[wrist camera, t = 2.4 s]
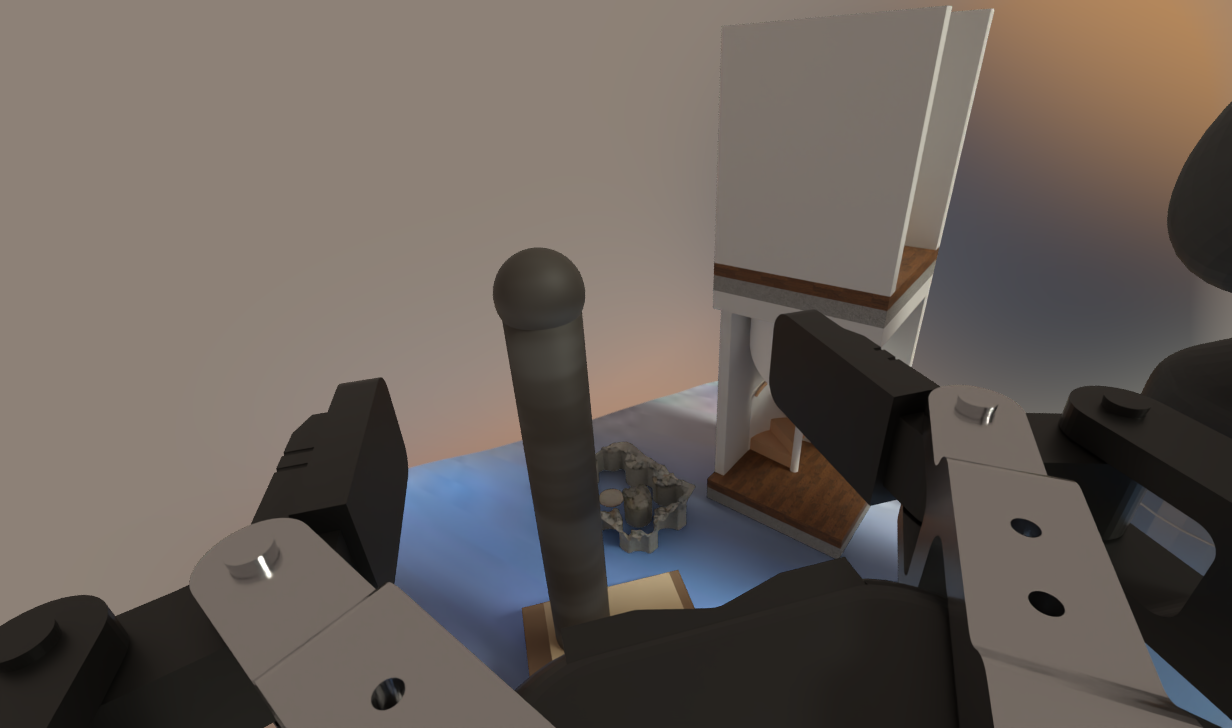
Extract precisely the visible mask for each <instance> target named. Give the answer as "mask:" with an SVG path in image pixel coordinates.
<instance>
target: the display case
mask: <svg viewBox="0 0 1232 728" xmlns="http://www.w3.org/2000/svg"><path fill="white" fill-rule="evenodd" d="M951 9H952V6H938V7H928V8H917V9H906V10H894V11H883V12H872V13H862V14H850V15H840V16H827V17H817V18H805V19H794V20H783V21H772V22H761V23H750V24H739V25H728V26H722V35H721V66H720V67H721V68H720V97H719V98H720V99H719V129H718V162H717V193H716V225H715V256H714V258H715V259H714V288H713V308H714V309H718V310H721V324H720V349H719V350H720V351H719V376H718V400H717V426H716V451H715V472H714V473H713V474H712V475H711V476H710V477H709V478H708V479H707V497H708V498H710V499H712V500H714V501H716V502H718V503H720V504H722V505H724V506H727V507H729V508H731V509H733V510H735V511H737V512H739V513H741V514H743V515H745V516H747V517H749V518H752V519H754V520H756V521H758V522H760V523H762V524H764V525H766V526H768V527H770V528H772V529H774V530H777V531H779V532H781V533H783V534H785V535H787V536H789V537H791V538H793V539H795V540H797V541H799V542H801V543H804V544H806V545H808V546H810V547H812V548H814V549H816V550H818V551H820V552H822V553H824V554H826V555H829V556H831V557H833V558H835V559H838V558H840V556H841V555H842V553H843V551H844V550H845V548H846V546H847V545H848V543H849V541H850V540H851V538H852V536H853V535H854V533H855V531H856V530H857V528H858V526H859V525H860V523H861V521H862V520H863V518H864V516H865V515H866V513H867V511H868V510H869V508H870V506H869V505H868V503H867V502H866V501H865V500H864V499H863V498H862V497H861V496H860V495H859V494H858V493H857V492H856V491H855V489H854V488H853V487H852V486H851V485H850V484H849V483H848V482H847V481H846V480H845V479H844V478H843V477H842V476H841V474H840V473H839V472H838V471H837V470H836V469H835V468H834V467H833V466H832V465H831V464H830V463H829V462H828V460H827V459H826V458H825V457H824V456H823V455H822V454H821V453H820V452H819V451H818V450H817V449H816V448H815V446H814V445H813V444H812V443H811V442H810V441H809V440H808V439H807V438H806V437H805V436H804V435H803V434H802V432H801V431H800V430H799V429H798V428H797V427H796V426H795V425H794V424H793V423H792V422H791V421H790V420H789V419H788V417H787V416H786V415H785V414H784V413H783V412H782V411H781V410H780V409H779V408H778V407H777V405H776V404H775V402H774V400H773V398H772V395H771V392H770V386H769V373H770V362H771V351H772V340H773V329H774V323H775V320H776V318H777V317H778V316H779V315H780V314H785V313H792V312H798V311H804V310H810V309H815V310H817V311H819V312H820V313H822V314H823V315H825V316H826V317H828V318H829V319H831V320H832V321H834V322H835V323H836V324H838V325H839V326H841V327H842V328H844V329H847V330H850V331H853V332H855V333H858V334H861V335H864V336H865V337H867V338H868V339H870V340H871V341H873V342H874V343H876V344H877V345H879V346H880V347H881V349H882V350H884V349H885V350H886V351H888V352H889V353H891V354H892V355H894V356H895V358H896V360H897V359H900V360H901V361H903V362H904V363H906V364H907V365H909V366H910V367H912V362H913V358H914V354H915V349H916V345H917V341H918V336H919V332H920V328H921V323H922V319H923V315H924V311H925V306H926V302H927V298H928V293H929V289H930V285H931V280H932V276H933V272H934V267H935V263H936V259H937V255H938V250H939V246H940V241H941V237H942V233H943V229H944V224H945V220H946V216H947V211H948V207H949V203H950V198H951V194H952V190H953V186H954V181H955V177H956V172H957V168H958V164H959V159H960V155H961V151H962V147H963V143H964V138H965V133H966V129H967V125H968V121H969V117H970V112H971V108H972V104H973V99H974V94H975V91H976V87H977V82H978V78H979V73H980V69H981V65H982V61H983V56H984V52H985V48H986V43H987V39H988V35H989V30H990V26H991V22H992V18H993V13H994V9H982V10H970V11H958V12H951Z"/></svg>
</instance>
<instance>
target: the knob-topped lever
mask: <svg viewBox="0 0 1232 728" xmlns="http://www.w3.org/2000/svg"><path fill="white" fill-rule="evenodd" d="M493 300H494V304H495V308H496V310H497V313H498V315H499V316H500V318H501V319H502V322H503V328H504V334H505V339H506V346H507V351H508V357H509V363H510V369H511V375H512V381H513V386H514V393H515V399H516V405H517V410H518V416H519V422H520V428H521V434H522V440H523V446H524V452H525V458H526V463H527V469H528V475H529V481H530V487H531V493H532V499H533V505H534V511H535V517H536V522H537V528H538V534H539V540H540V546H541V552H542V558H543V564H544V570H545V576H546V581H547V587H548V593H549V599H550V601H548V602H544V610H545V616H546V623H547V629H548V636H549V642H550V649H551V655H552V660H554V659H556V658H558V657H560V656H562V655H563V654H564V648H563V642H562V635H561V628H565V627H569V626H573V625H577V624H581V623H585V622H589V621H593V620H597V619H601V618H605V617H609V616H613V615H617V614H621V613H625V612H629V611H632V610H646V609H684V608H683V605H682V603H681V600H680V598H679V596H678V593H677V591H676V588H675V586H674V583H673V581H672V579H671V576H670V574H669V572H667V573H663V574H659V575H655V576H651V577H647V578H642V579H638V580H634V581H630V582H626V583H622V584H618V585H614V586H610V587H607V577H606V566H605V555H604V545H603V534H602V523H601V512H600V501H599V491H598V480H597V469H596V458H595V447H594V437H593V426H592V415H591V404H590V394H589V383H588V372H587V362H586V350H585V340H584V329H583V319H582V309H583V306H584V302H585V287H584V283H583V280H582V277H581V274H580V272H579V271H578V269H577V268H576V266H575V265H574V264H573V263H572V261H570V260H569V259H568V258H567V257H566V256H564V255H563V254H561V253H559V252H557V251H554V250H551V249H547V248H530V249H525V250H522V251H520V252H518V253H516V254H514V255H513V256H511V257H510V258H509V259H508V260H507V261H506V262H505V263H504V264H503V265H502V266H501V268H500V269H499V271H498V273H497V275H496V278H495V281H494V286H493Z"/></svg>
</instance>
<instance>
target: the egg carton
mask: <svg viewBox="0 0 1232 728" xmlns="http://www.w3.org/2000/svg"><path fill="white" fill-rule="evenodd" d="M595 458H596V469H597V480H598V482H599V472H601V471H603V470H607V471H618V470H620V469H623V470H625V474H626V482H627V484H628V485H629V486H631V487H630V488H628V489H627V488H624V489H623V492H621V491H620V490H617V489H607V490H605V491H603V492H602V493H600V496H599V501H600V503H601V505H604V506H606V507H616V506H618V505H620V504H621V503H622V502H623V500H624V510H625V520H626V522H627V523H628V524H629V525H630V526H632V527H637V528H641V527H644V526H647V525H649V524H650V522H651V521H652V497H651V493H650V491H649V489H648V488H647V486H650V487H651V488H653V500H654V502H655V503H657V504H658V505H660V506H663V507H659V508H657V509H655V510H654V514H655V516H653V518H654V522H653V524H654V531H653V532H652V533H650V534H646V533H645V532H643V531H642V530H636V531H635V530H631V534H630V535H627V534H626V533H625V532H623V520H622V517H621V515H620V512H619V509H617V508H614V509H613V510H612V511H610V512H606V511H601V523H602V530H605V529H615V530H617V531H618V532H619V535H620V547H621V548H622V549H623V550H624V551H625V552H627V553H632V552H634V551H644V552H646V553H652V552H653V551H654V550H655V549H657V548H658V531H659V530H661V529H664V528H672V529H675V530H680V529H681V528H683V527H684V526H685V525H686V507H687V506H686V502H687V500H688V498H689V497H690V495H691V494H692V492H693V490H694V488H695V485H692V484H690V483H687V482H685V481H684V480H679V479H677V478H676V477H675V476H674V474H673V473H669V472H668V470H667V469H666V467H665V466H664V465H661V464H658V463H656V462H655V461H654V460H652V459H651V458H649V457H647V456H645V455H644V454H643V453H642V452H641V451H639V450H638V449H637V448H636V447H635V446H634V445H633V444H630V443H628V442H617V443H613V444H611V445H609V446H607V447H602V449H601V450H600V451H599V452H598V453H596V454H595Z"/></svg>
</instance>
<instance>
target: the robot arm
mask: <svg viewBox="0 0 1232 728" xmlns="http://www.w3.org/2000/svg"><path fill="white" fill-rule="evenodd" d="M1167 225H1168V233H1169V238H1170V241H1171V243H1172V246H1173V248H1174V250H1175V253H1176V255H1177V256H1178V258H1179V259H1180V260H1181V261H1182V262H1183V263H1184V265H1185V266H1186V267H1187V268H1188V269H1189V270H1190V271H1191V272H1192V273H1194V274H1195V275H1196V276H1198V277H1199V278H1201V279H1202V280H1204V281H1205V282H1207V283H1208V284H1211V285H1213V286H1215V287H1217V288H1220V289H1222V290H1225V291H1228V292H1231V293H1232V102H1231V103H1230V104H1229V105H1228V106H1227V107H1226V108H1225V109H1224V110H1223V111H1222V113H1221V114H1220V115H1219V116H1218V117H1217V119H1216V120H1215V121H1214V122H1213V123H1212V125H1211V126H1210V127H1209V128H1208V129H1207V130H1206V132H1205V133H1204V135H1203V136H1202V138H1201V139H1200V140H1199V142H1198V143H1197V145H1196V146H1195V148H1194V149H1193V151H1192V152H1191V154H1190V155H1189V157H1188V159H1187V161H1186V162H1185V164H1184V166H1183V168H1182V171H1181V173H1180V175H1179V177H1178V179H1177V182H1176V184H1175V187H1174V189H1173V192H1172V195H1171V199H1170V203H1169V208H1168V217H1167ZM769 386H770V392H771V395H772V398H773V400H774V402H775V404H776V405H777V407H778V408H779V409H780V410H781V411H782V412H783V413H784V414H785V415H786V416H787V417H788V419H789V420H790V421H791V422H792V423H793V424H794V425H795V426H796V427H797V428H798V429H799V430H800V431H801V432H802V434H803V435H804V436H805V437H806V438H807V439H808V440H809V441H810V442H811V443H812V444H813V445H814V446H815V448H816V449H817V450H818V451H819V452H820V453H821V454H822V455H823V456H824V457H825V458H826V459H827V460H828V462H829V463H830V464H831V465H832V466H833V467H834V468H835V469H836V470H837V471H838V472H839V473H840V474H841V476H842V477H843V478H844V479H845V480H846V481H847V482H848V483H849V484H850V485H851V486H852V487H853V488H854V489H855V491H856V492H857V493H858V494H859V495H860V496H861V497H862V498H863V499H864V500H865V501H866V502H867V503H868V505H869V506H872V505H876V504H880V503H884V502H889V501H893V500H898V501H899V502H900V503H901V507H900V510H899V514H898V520H897V523H898V582H893V581H887V580H878V579H862V578H861V577H860V576H859V574H858V573H857V572H856V571H855V569H854V568H853V567H852V566H851V564H850V563H849V562H848V560H847V559H846V558H845V557H842V558H838V559H834V560H830V561H826V562H822V563H818V564H814V565H810V566H806V567H802V568H798V569H794V570H790V571H786V572H782V573H779V574H777V575H776V576H774V577H772V578H770V579H769V580H767V581H765V582H763V583H761V584H760V585H758V586H756V587H754V588H753V589H751V590H749V591H747V592H746V593H744V594H742V595H740V596H738V597H737V598H735V599H733V600H731V601H730V602H728V603H726V604H724V605H722V606H719V607H716V608H698V609H646V610H632V611H629V612H625V613H621V614H617V615H613V616H609V617H605V618H601V619H597V620H593V621H589V622H585V623H581V624H577V625H573V626H569V627H565V628H561V635H562V642H563V648H564V654H563V655H562V656H560V657H558V658H556V659H554V660H552V661H551V662H549V663H548V664H546V665H545V666H543V667H542V668H541V669H539V670H538V671H536V672H535V673H534V674H532V675H531V676H530V677H529V678H528V679H527V680H526V681H524V682H523V683H522V684H521V685H520V686H519V687H518V688H517V689H516V690H515V691H514V690H513V689H512V688H511V687H510V686H508V685H507V684H506V683H505V682H504V681H503V680H502V679H501V678H500V677H498V676H497V675H496V674H495V673H494V672H493V671H492V670H491V669H489V668H488V667H487V666H486V665H485V664H484V663H483V662H482V661H480V660H479V659H478V658H477V657H476V656H475V655H474V654H473V653H472V652H470V651H469V650H468V649H467V648H466V647H465V646H464V645H463V644H461V643H460V642H459V641H458V640H457V639H456V638H455V637H454V636H453V635H451V634H450V633H449V632H448V631H447V630H446V629H445V628H444V627H442V626H441V625H440V624H439V623H438V622H437V621H436V620H435V619H433V618H432V617H431V616H430V615H429V614H428V613H427V612H426V611H425V610H423V609H422V608H421V607H420V606H419V605H418V604H417V603H416V602H414V601H413V600H412V599H411V598H410V597H409V596H408V595H407V594H406V593H404V592H403V591H402V590H401V589H400V588H399V587H397V586H396V585H394V582H395V575H396V567H397V559H398V551H399V543H400V535H401V528H402V520H403V512H404V504H405V496H406V489H407V481H408V461H407V454H406V449H405V445H404V441H403V438H402V434H401V431H400V428H399V424H398V421H397V417H396V414H395V411H394V407H393V404H392V401H391V397H390V394H389V391H388V388H387V385H386V383H385V381H384V379H383V378H374V379H367V380H362V381H356V382H349V383H342V384H339V385H338V387H337V389H336V392H335V394H334V397H333V399H332V402H331V405H330V407H329V410H328V412H327V413H321V414H315V415H312V416H311V417H309V418H308V419H307V420H306V421H305V422H304V423H303V424H302V425H301V426H300V427H299V428H298V429H297V430H296V431H294V432H293V434H292V435H291V438H290V440H289V442H288V444H287V446H286V448H285V451H284V456H282V457H281V460H280V462H279V464H278V466H277V468H276V469H277V472H276V473H274V475H273V477H272V479H271V481H270V484H269V486H268V488H267V490H266V492H265V495H264V497H263V499H262V501H261V503H260V505H259V508H258V510H257V512H256V514H255V516H254V518H253V521H252V523H251V525H249V526H247V527H244V528H242V529H241V530H238V531H236V532H234V533H232V534H231V535H229V536H227V537H226V538H224V539H223V540H221V541H220V542H219V543H217V544H216V545H214V546H213V547H212V548H211V549H210V550H209V551H208V552H207V553H206V554H205V555H204V556H203V557H202V558H201V559H200V561H199V562H198V563H197V565H196V566H195V568H194V570H193V572H192V574H191V577H190V581H189V584H190V585H188V586H186V587H183V588H181V589H179V590H177V591H175V592H172V593H170V594H168V595H165V596H163V597H160V598H158V599H156V600H153V601H151V602H148V603H146V604H144V605H141V606H139V607H137V608H134V609H132V610H129V611H127V612H124V613H122V614H120V615H117V616H115V615H114V614H113V613H112V611H111V610H110V609H109V608H108V606H107V605H106V603H105V602H104V601H103V600H101V599H100V598H98V597H95V596H89V595H78V596H70V597H65V598H61V599H58V600H54V601H51V602H48V603H45V604H43V605H40V606H38V607H35V608H33V609H31V610H29V611H27V612H24V613H22V614H21V615H19V616H17V617H15V618H13V619H11V620H10V621H8V622H6V623H5V624H3V625H1V626H0V728H264V727H266V726H268V725H269V724H271V723H274V725H275V726H276V728H1232V338H1230V339H1224V340H1219V341H1215V342H1210V343H1205V344H1200V345H1196V346H1192V347H1189V348H1186V349H1183V350H1180V351H1178V352H1176V353H1174V354H1172V355H1170V356H1168V357H1167V358H1165V359H1164V360H1163V361H1162V362H1161V363H1159V364H1158V366H1157V367H1156V368H1155V369H1154V371H1153V372H1152V374H1151V375H1150V377H1149V379H1148V381H1147V383H1146V384H1145V387H1144V389H1143V391H1142V393H1141V394H1138V393H1135V392H1132V391H1128V390H1124V389H1119V388H1113V387H1106V386H1085V387H1080V388H1077V389H1075V390H1073V391H1072V392H1071V393H1070V395H1069V398H1068V401H1067V403H1066V405H1065V408H1064V410H1063V413H1062V414H1050V413H1049V414H1047V413H1025V412H1024V410H1023V409H1022V408H1021V406H1020V405H1018V404H1017V403H1016V402H1015V401H1013V400H1011V399H1010V398H1008V397H1006V396H1004V395H1002V394H999V393H997V392H994V391H991V390H988V389H984V388H980V387H975V386H968V385H948V386H942V387H940V386H939V385H937V384H936V383H934V382H933V381H931V380H929V379H928V378H927V377H925V376H923V375H922V374H921V373H919V372H917V371H916V370H915V369H913V368H912V367H910V366H909V365H907V364H906V363H904V362H903V361H901V360H900V359H897V360H896V358H895V356H894V355H892V354H891V353H889V352H888V351H886V350H885V349H884V350H882V349H881V347H880V346H879V345H877V344H876V343H874V342H873V341H871V340H870V339H868V338H867V337H865V336H864V335H861V334H858V333H855V332H853V331H850V330H847V329H844V328H842V327H841V326H839V325H838V324H836V323H835V322H834V321H832V320H831V319H829V318H828V317H826V316H825V315H823V314H822V313H820V312H819V311H817V310H815V309H810V310H804V311H798V312H792V313H785V314H780V315H779V316H778V317H777V318H776V320H775V323H774V329H773V340H772V351H771V362H770V373H769Z"/></svg>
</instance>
